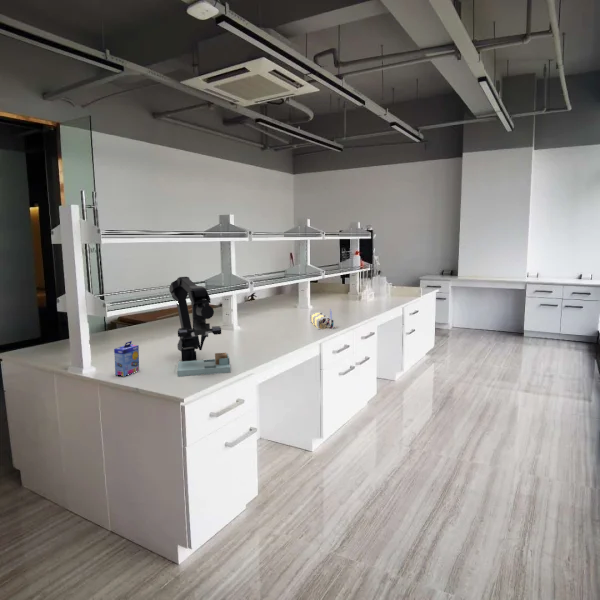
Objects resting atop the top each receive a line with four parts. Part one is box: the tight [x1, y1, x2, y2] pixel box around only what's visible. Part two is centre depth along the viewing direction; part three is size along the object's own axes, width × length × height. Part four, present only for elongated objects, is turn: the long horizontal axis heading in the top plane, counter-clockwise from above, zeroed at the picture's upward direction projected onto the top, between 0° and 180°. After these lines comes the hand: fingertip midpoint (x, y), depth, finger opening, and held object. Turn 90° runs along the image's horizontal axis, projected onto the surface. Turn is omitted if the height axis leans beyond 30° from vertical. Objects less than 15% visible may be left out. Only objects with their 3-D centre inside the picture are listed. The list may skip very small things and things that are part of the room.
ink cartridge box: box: [113, 340, 140, 377], centre depth 198 cm, size 10×6×14 cm, turn 159°
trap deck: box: [176, 353, 231, 377], centre depth 203 cm, size 22×15×6 cm, turn 104°
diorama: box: [309, 308, 335, 330], centre depth 301 cm, size 25×10×13 cm, turn 11°
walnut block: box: [214, 352, 228, 365], centre depth 205 cm, size 5×5×4 cm
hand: (200, 350), depth 202 cm, fingers closed
